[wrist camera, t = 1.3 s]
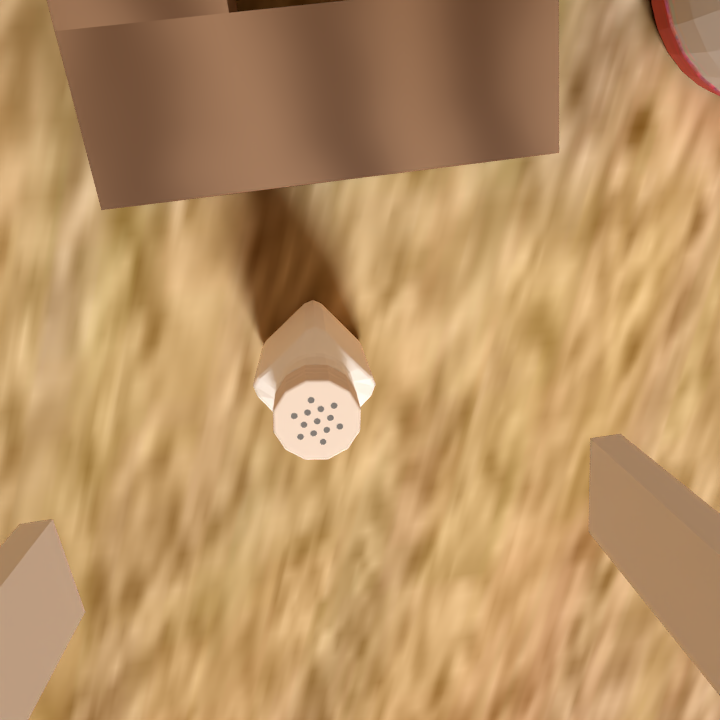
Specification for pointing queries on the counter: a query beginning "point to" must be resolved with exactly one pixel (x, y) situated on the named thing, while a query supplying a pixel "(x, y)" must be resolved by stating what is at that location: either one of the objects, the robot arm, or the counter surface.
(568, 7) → the counter surface
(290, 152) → the socket block
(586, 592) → the counter surface
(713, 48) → the citrus juicer
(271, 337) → the pepper shaker
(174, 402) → the counter surface
